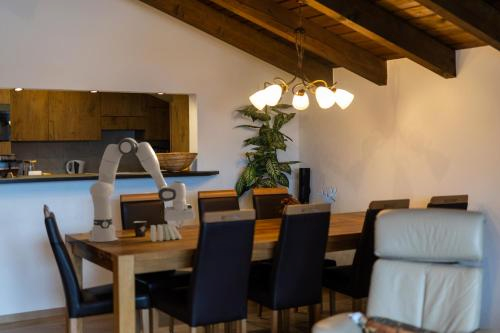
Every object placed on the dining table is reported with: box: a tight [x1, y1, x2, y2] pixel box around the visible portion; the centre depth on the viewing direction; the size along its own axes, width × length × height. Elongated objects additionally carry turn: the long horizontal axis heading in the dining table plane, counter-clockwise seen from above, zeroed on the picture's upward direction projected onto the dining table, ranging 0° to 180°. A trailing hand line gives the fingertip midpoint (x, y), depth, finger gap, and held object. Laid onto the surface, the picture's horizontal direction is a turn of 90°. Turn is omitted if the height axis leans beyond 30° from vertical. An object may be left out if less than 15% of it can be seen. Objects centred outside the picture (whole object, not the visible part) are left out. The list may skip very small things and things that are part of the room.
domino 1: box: [150, 224, 157, 243], centre depth 436 cm, size 5×2×10 cm, turn 25°
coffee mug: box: [133, 220, 151, 238], centre depth 459 cm, size 12×9×10 cm
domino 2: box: [156, 224, 164, 242], centre depth 438 cm, size 5×2×10 cm, turn 25°
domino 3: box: [162, 223, 171, 241], centre depth 440 cm, size 5×2×10 cm, turn 25°
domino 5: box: [170, 224, 183, 240], centre depth 443 cm, size 5×2×10 cm
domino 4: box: [167, 223, 177, 241], centre depth 441 cm, size 5×2×10 cm, turn 25°
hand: (179, 227), depth 444 cm, fingers closed
